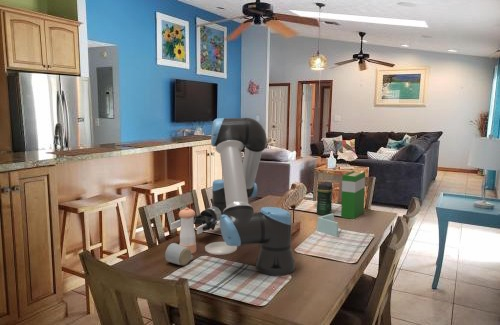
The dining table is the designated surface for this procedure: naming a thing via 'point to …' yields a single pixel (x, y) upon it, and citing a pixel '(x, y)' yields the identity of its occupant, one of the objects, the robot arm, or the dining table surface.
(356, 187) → the hardback book
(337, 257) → the dining table surface
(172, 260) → the ceramic mug
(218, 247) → the cream saucer
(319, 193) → the coffee jar
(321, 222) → the l-shaped corner panel
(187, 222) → the pepper shaker
